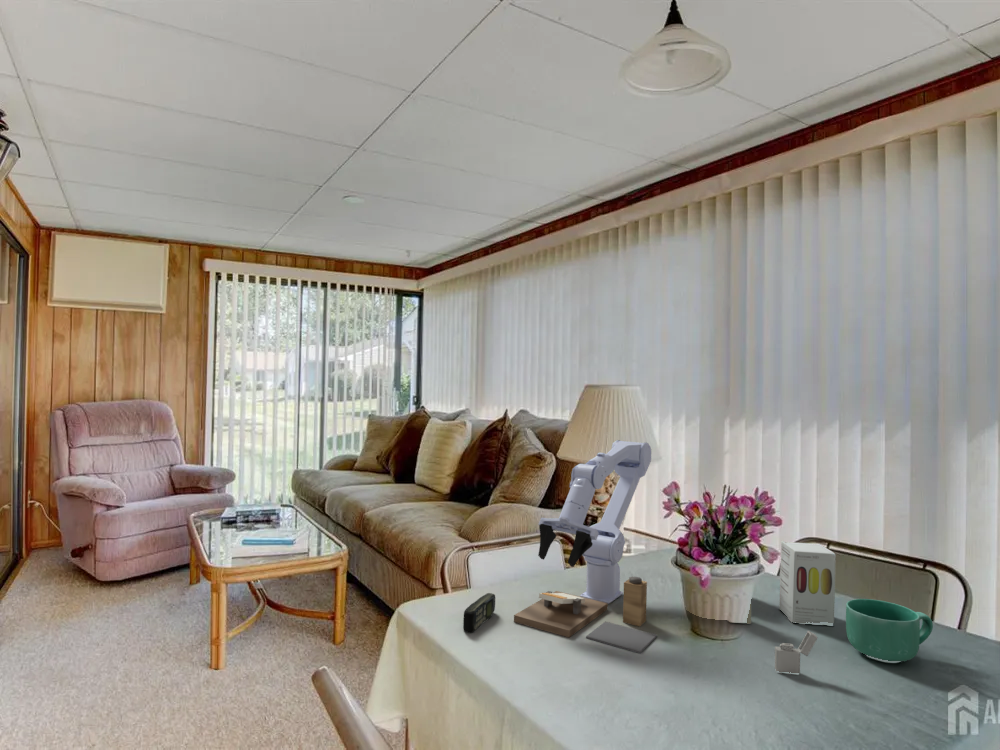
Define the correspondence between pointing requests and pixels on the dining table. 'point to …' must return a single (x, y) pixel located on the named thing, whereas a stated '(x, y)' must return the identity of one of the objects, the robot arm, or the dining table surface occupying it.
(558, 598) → the white two-tone slab
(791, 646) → the lighter
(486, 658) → the dining table surface
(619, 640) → the rest mat
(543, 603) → the switch panel
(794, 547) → the supplement box
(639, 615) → the wood grain block
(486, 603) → the mobile phone
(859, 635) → the mug
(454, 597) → the dining table surface
